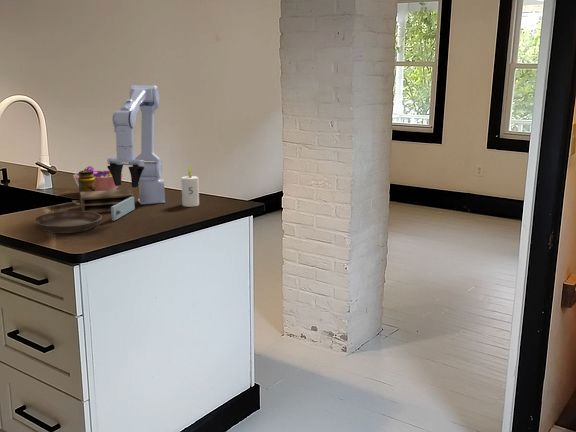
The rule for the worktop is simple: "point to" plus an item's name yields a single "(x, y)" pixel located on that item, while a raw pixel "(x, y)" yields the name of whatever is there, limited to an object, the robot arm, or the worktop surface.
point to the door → (122, 208)
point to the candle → (190, 190)
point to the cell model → (101, 180)
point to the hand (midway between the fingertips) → (126, 186)
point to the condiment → (85, 183)
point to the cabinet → (103, 199)
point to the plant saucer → (68, 221)
